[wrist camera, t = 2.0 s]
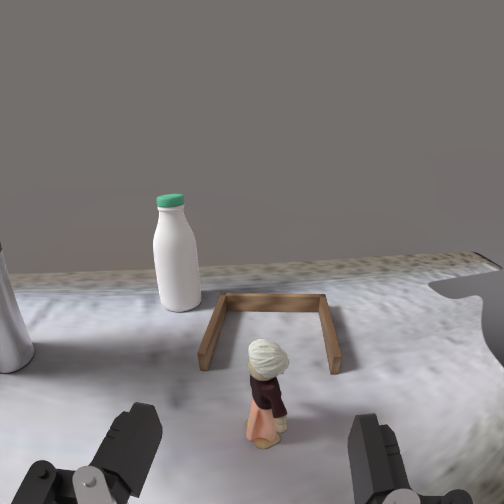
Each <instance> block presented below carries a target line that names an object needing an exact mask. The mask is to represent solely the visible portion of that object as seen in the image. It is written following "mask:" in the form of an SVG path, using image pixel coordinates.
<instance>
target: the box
mask: <svg viewBox="0 0 504 504" xmlns="http://www.w3.org/2000/svg"><path fill="white" fill-rule="evenodd" d="M227 310H229V311H261V312H319V316H320V321H321V326H322V331H323V336H324V341H325V346H326V352H327V357H328V362H329V368H330V374H338V372H339V367H340V363H341V357H342V356H341V352H340V348H339V344H338V340H337V336H336V333H335V329H334V325H333V321H332V317H331V314H330V310H329V306H328V303H327V299H326V295H325V294H257V293H221V294H220V297H219V299H218V302H217V304H216V307H215V309H214V312H213V315H212V317H211V320H210V322H209V325H208V327H207V330H206V332H205V335H204V337H203V340H202V343H201V345H200V348H199V350H198V353H197V354H198V360H199V366H200V370H202V371H208V368H209V365H210V362H211V359H212V355H213V352H214V349H215V346H216V343H217V340H218V337H219V334H220V330H221V327H222V324H223V321H224V318H225V315H226V312H227Z"/></svg>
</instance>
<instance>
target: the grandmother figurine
mask: <svg viewBox="0 0 504 504" xmlns="http://www.w3.org/2000/svg"><path fill="white" fill-rule="evenodd" d="M248 351H249V357H250V360H249V362H248V369H249V372H250V385H251V388H252V396H253V399H252V404H251V409H250V415H249V419H248V420H247V421H246V428H247V432H246V437H247V438H248V440H250V441H252V440H254V444H255V446H256V447H258V448H260V449H267V448H269V447H271V446H273V445H275V444H276V443H278V442H279V441H280V436H279V434H278V433H277V432H279V433H283V432H285V431H286V430H287V424H286V415H287V411H286V408H285V406H284V404H283V402H282V399H281V391H280V387H279V383H278V380H277V377H276V376H277V375H279V374H283V373H284V371H285V369H287V368H288V365H289V359H288V357H287V354H286V353H285V352H284V351H283V350H282V349H281V348H280V346H279V345H278V344H277V343H275V342H273V341H269V340H265V339H258V340H255V341H254V342H252V343H251V344H250V346H249V350H248ZM276 431H277V432H276Z"/></svg>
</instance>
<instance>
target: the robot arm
mask: <svg viewBox="0 0 504 504" xmlns="http://www.w3.org/2000/svg"><path fill="white" fill-rule="evenodd" d="M33 355H34V346H33V344H32V341H31V339H30V337H29V334H28V332H27V329H26V326H25V324H24V321H23V318H22V316H21V313H20V310H19V307H18V304H17V301H16V298H15V295H14V292H13V289H12V286H11V282H10V279H9V275H8V272H7V268H6V265H5V261H4V257H3V252H2V248H1V244H0V372H1V373H9V372H13V371H16V370H18V369H20V368H22V367H23V366H25V365H26V364H27V363H28V362H29V361H30V360H31V359H32V357H33ZM162 432H163V431H162V425H161V423H160V420H159V418H158V415H157V412H156V410H155V407H154V406H153V405H149V404H144V403H139V402H136V403H134V404H133V406H132V408H131V410H130V412H125V411H124V412H122V413H121V414H120V415H119V416H118V417H116V418H115V420H114V421H113V423H112V425H111V427H110V430H108V432H107V434H106V437H105V438H104V440H103V441H102V443H101V445H100V447H99V449H98V451H97V453H96V454H95V456H94V458H93V460H92V462H91V463H90V464H89V465H88V466H84V467H81V468H79V469H78V470H77V471H71V470H63V469H56V468H55V467H54V466H53V465H52V464H51V463H50V462H48V461H45V460H40V461H37V462H35V463H33V464H32V465H31V467H30V469H29V470H28V472H27V474H26V476H25V478H24V480H23V481H22V483H21V485H20V487H19V489H18V491H17V493H16V495H15V497H14V499H13V501H12V503H11V504H129V503H128V499H129V497H130V495H131V496H134V497H137V498H139V496H140V493H141V491H142V488H143V485H144V483H145V480H146V478H147V475H148V472H149V470H150V467H151V464H152V462H153V459H154V457H155V454H156V452H157V449H158V446H159V444H160V441H161V439H162ZM348 454H349V460H350V468H351V475H352V482H353V490H354V499H355V504H473V502H472V499H471V496H470V495H469V493H467V492H466V491H464V490H460V489H457V490H452V491H450V492H448V493H447V494H446V495H445V496H422V495H419V494H417V493H415V492H414V491H413V490H412V489H411V488H410V486H409V483H408V479H407V475H406V472H405V468H404V464H403V460H402V457H401V454H400V450H399V446H398V443H397V439H396V436H395V433H394V432H393V431H392V430H391V428H390V427H389V426H388V425H387V424H386V425H379V423H378V420H377V416H376V414H374V413H373V414H364V415H356V417H355V419H354V422H353V425H352V428H351V431H350V434H349V437H348Z"/></svg>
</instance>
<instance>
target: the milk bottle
mask: <svg viewBox="0 0 504 504" xmlns="http://www.w3.org/2000/svg"><path fill="white" fill-rule="evenodd" d="M157 206H158V210H159V214H160V215H159V221H158V226H157V229H156V232H155V235H154V241H153V249H154V260H155V268H156V275H157V281H158V288H159V294H160V299H161V304H162V306H163V307H164V308H165V309H167V310H169V311H174V312H182V311H188V310H191V309H193V308H195V307H197V306H198V305H199V304H200V302H201V288H200V278H199V268H198V259H197V249H196V242H195V237H194V234H193V232H192V230H191V228H190V226H189V224H188V223H187V220H186V218H185V216H184V212H183V208H184V196H183V195H182V194H168V195H162V196H159V197H158V198H157Z"/></svg>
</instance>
